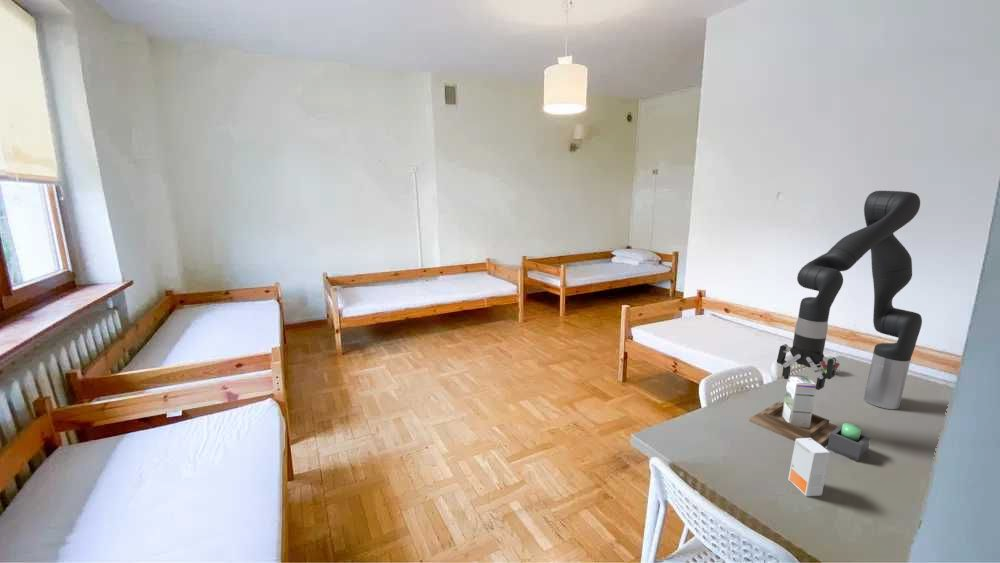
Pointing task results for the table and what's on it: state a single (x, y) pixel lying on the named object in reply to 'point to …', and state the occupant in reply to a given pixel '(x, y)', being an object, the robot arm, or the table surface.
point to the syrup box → (799, 400)
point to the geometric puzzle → (826, 365)
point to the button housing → (848, 445)
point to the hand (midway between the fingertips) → (801, 383)
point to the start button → (851, 431)
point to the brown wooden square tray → (777, 424)
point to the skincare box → (809, 466)
